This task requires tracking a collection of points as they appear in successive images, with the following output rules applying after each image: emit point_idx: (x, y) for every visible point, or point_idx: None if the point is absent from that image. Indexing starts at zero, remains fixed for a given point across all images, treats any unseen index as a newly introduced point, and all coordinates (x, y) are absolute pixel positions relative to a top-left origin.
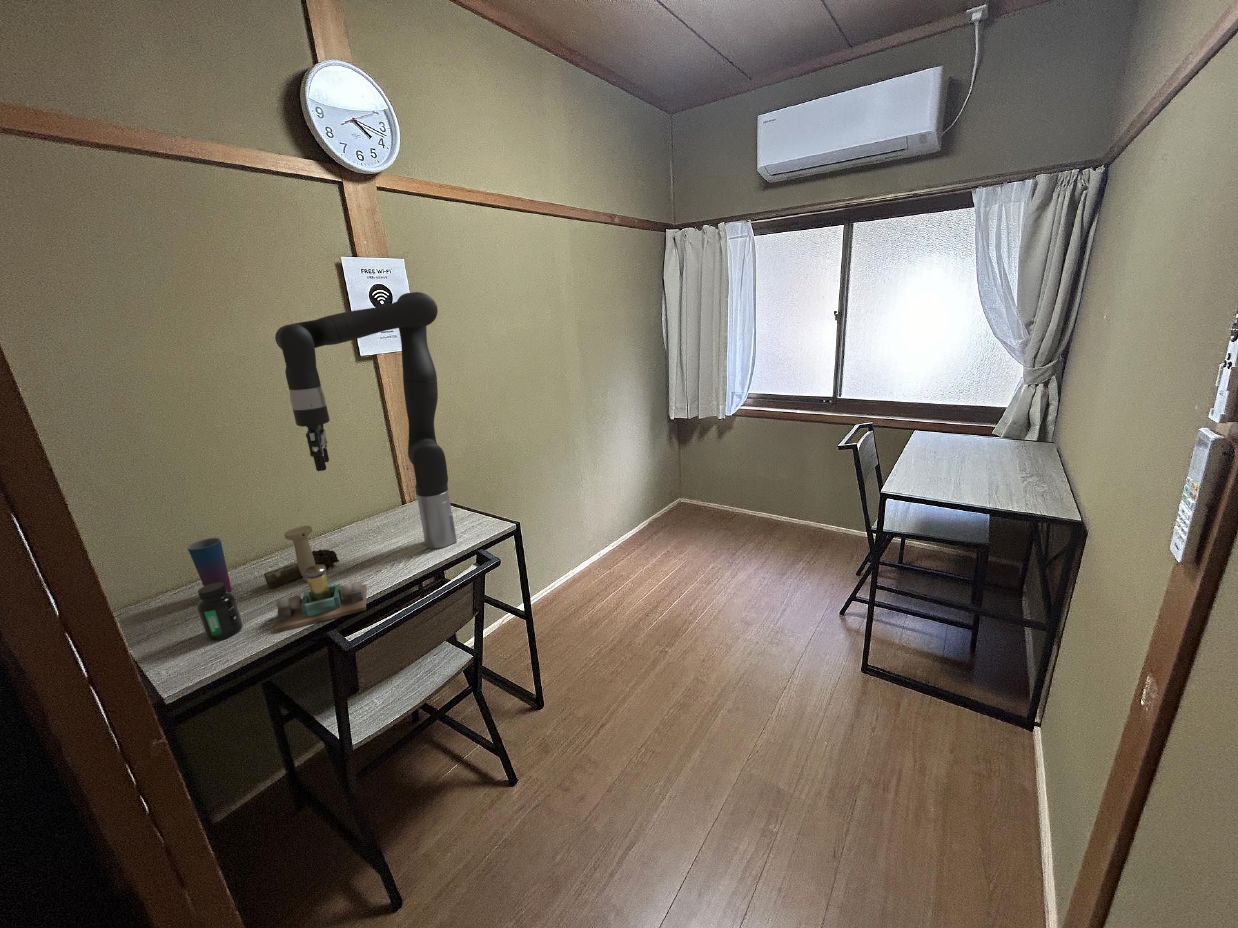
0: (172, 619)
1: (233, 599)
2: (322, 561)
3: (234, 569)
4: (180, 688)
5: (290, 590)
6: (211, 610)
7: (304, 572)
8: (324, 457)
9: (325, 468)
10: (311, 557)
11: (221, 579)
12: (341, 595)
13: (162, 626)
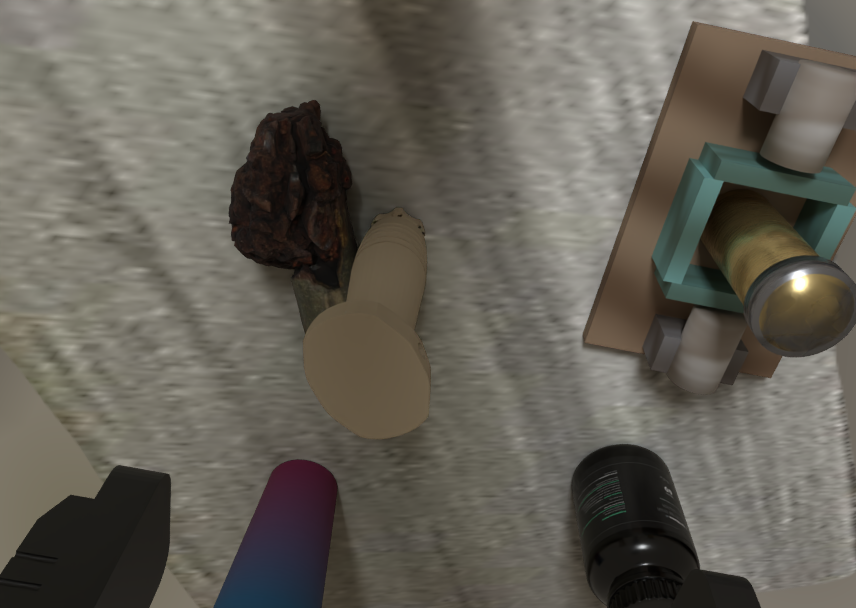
0: (404, 575)
1: (664, 531)
2: (340, 188)
3: (99, 448)
4: (848, 555)
5: (450, 305)
6: None
7: (798, 354)
8: (133, 579)
9: (751, 594)
10: (410, 261)
11: (322, 522)
12: (745, 153)
13: (433, 591)
